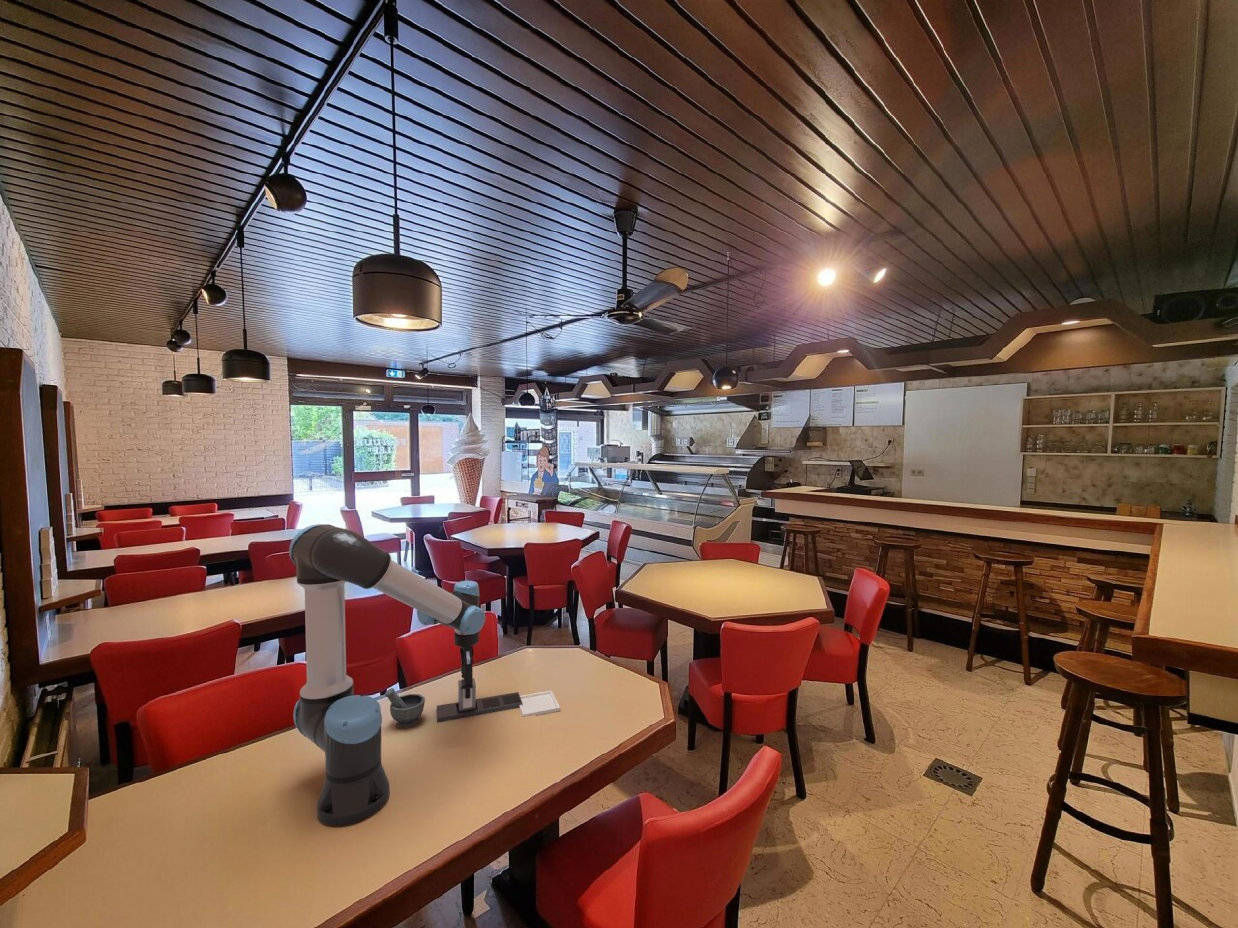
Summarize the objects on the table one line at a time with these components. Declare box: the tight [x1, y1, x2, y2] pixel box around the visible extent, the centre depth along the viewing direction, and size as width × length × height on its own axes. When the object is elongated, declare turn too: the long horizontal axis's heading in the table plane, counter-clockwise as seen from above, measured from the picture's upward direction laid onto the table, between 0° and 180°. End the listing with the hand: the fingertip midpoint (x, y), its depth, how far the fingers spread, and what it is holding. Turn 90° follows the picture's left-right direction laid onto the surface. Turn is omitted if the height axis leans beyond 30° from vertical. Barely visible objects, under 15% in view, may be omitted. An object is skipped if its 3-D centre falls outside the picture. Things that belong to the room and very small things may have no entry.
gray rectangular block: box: [457, 677, 477, 713], centre depth 158 cm, size 5×5×9 cm
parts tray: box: [518, 690, 561, 718], centre depth 163 cm, size 12×12×1 cm
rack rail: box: [436, 691, 523, 723], centre depth 160 cm, size 8×26×2 cm, turn 111°
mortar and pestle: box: [384, 687, 426, 729], centre depth 151 cm, size 11×9×12 cm
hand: (466, 702), depth 158 cm, fingers closed on gray rectangular block, 5 cm apart
